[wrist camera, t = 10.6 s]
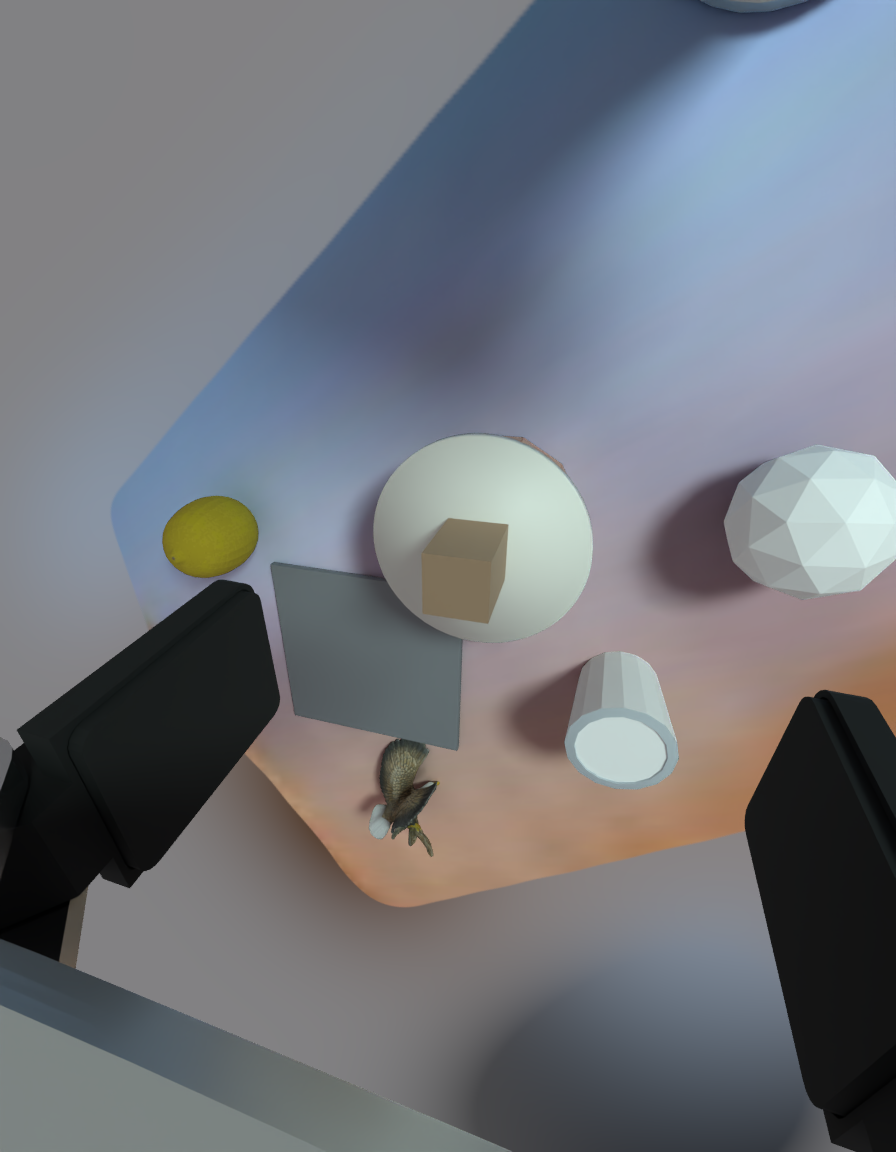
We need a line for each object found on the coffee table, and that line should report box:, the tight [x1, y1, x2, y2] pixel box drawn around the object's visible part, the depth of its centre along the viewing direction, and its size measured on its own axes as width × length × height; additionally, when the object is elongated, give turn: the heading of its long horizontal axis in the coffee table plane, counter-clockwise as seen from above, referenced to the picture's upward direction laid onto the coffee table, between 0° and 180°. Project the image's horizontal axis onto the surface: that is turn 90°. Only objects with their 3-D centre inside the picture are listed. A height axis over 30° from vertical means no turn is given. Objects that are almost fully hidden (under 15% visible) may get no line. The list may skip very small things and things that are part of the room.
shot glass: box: [564, 651, 679, 789], centre depth 35 cm, size 7×7×7 cm
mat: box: [271, 562, 462, 751], centre depth 43 cm, size 16×16×1 cm
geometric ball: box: [724, 444, 896, 600], centre depth 26 cm, size 8×8×8 cm
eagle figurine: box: [369, 739, 439, 857], centre depth 46 cm, size 8×7×9 cm
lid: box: [373, 433, 593, 643], centre depth 28 cm, size 13×13×6 cm
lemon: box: [162, 496, 258, 578], centre depth 37 cm, size 6×6×8 cm
